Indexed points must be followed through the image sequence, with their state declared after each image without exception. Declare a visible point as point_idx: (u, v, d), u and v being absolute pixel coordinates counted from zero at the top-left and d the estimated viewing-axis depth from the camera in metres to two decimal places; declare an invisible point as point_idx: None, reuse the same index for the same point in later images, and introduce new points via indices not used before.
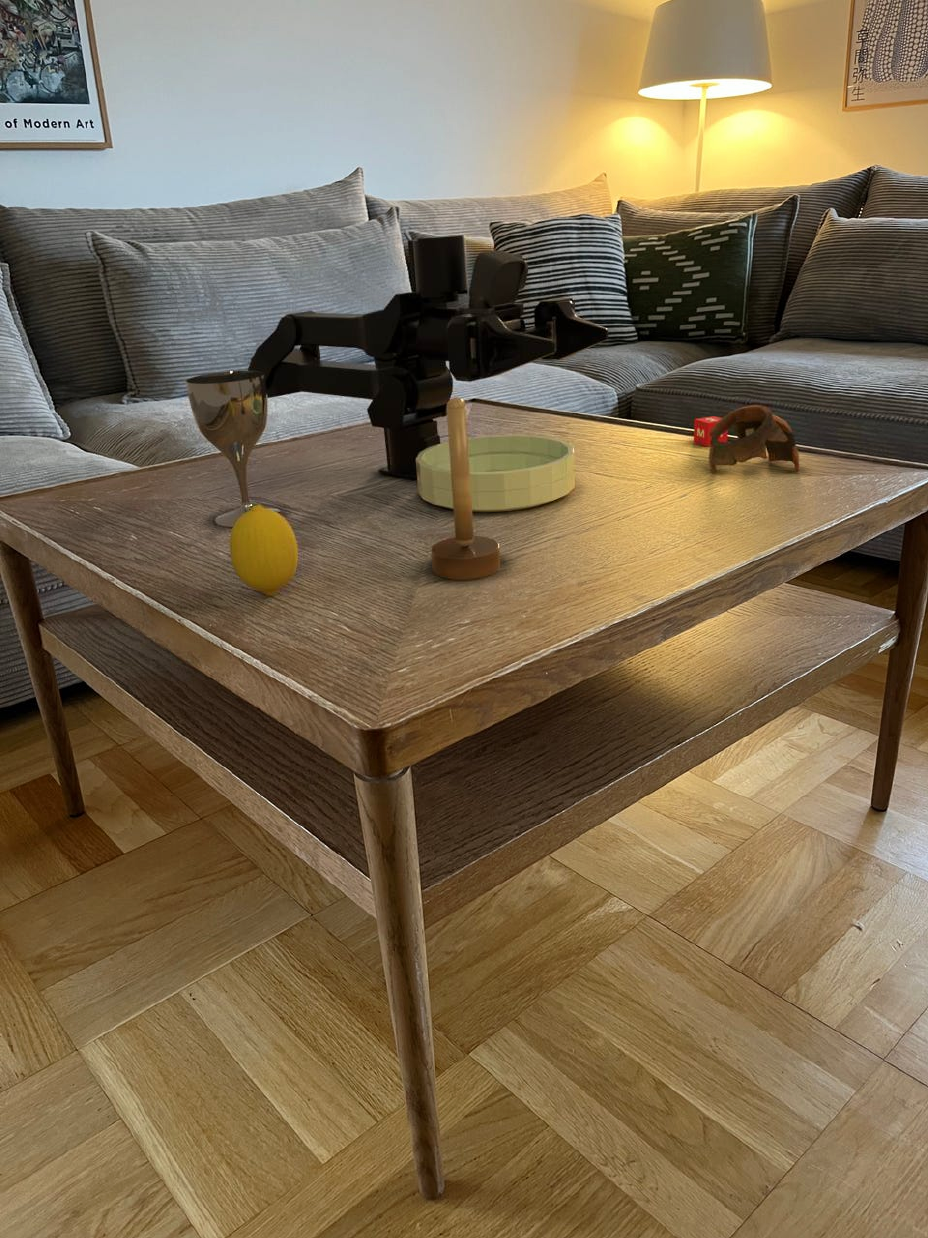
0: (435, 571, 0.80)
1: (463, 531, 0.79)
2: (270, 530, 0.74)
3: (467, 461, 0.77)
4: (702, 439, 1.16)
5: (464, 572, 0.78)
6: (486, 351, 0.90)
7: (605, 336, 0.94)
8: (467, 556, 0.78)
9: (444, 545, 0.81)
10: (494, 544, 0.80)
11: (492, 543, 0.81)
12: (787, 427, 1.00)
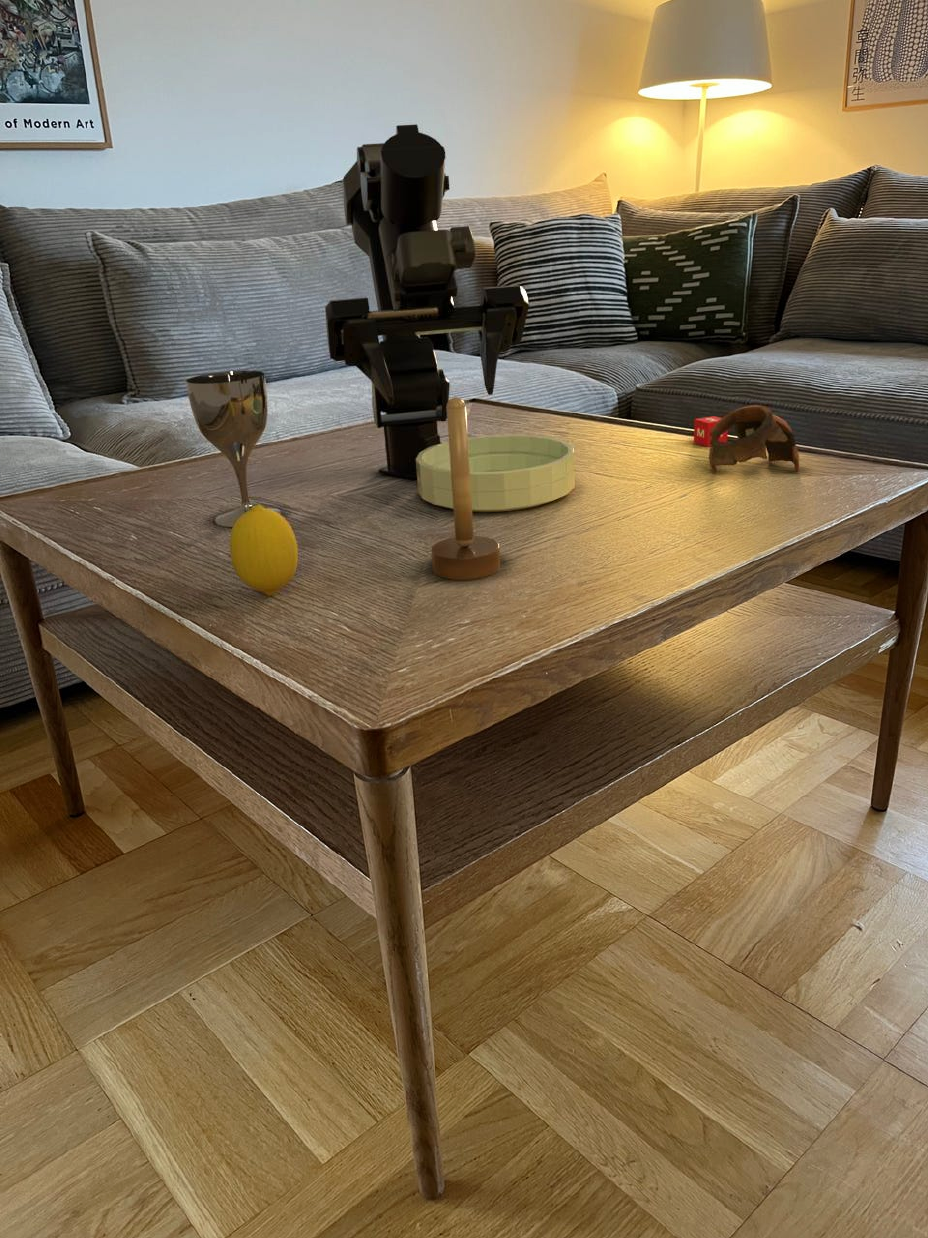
0: (435, 571, 0.80)
1: (463, 531, 0.79)
2: (270, 530, 0.74)
3: (467, 461, 0.77)
4: (702, 439, 1.16)
5: (464, 572, 0.78)
6: (354, 348, 0.84)
7: (488, 392, 0.84)
8: (467, 556, 0.78)
9: (444, 545, 0.81)
10: (494, 544, 0.80)
11: (492, 543, 0.81)
12: (787, 427, 1.00)
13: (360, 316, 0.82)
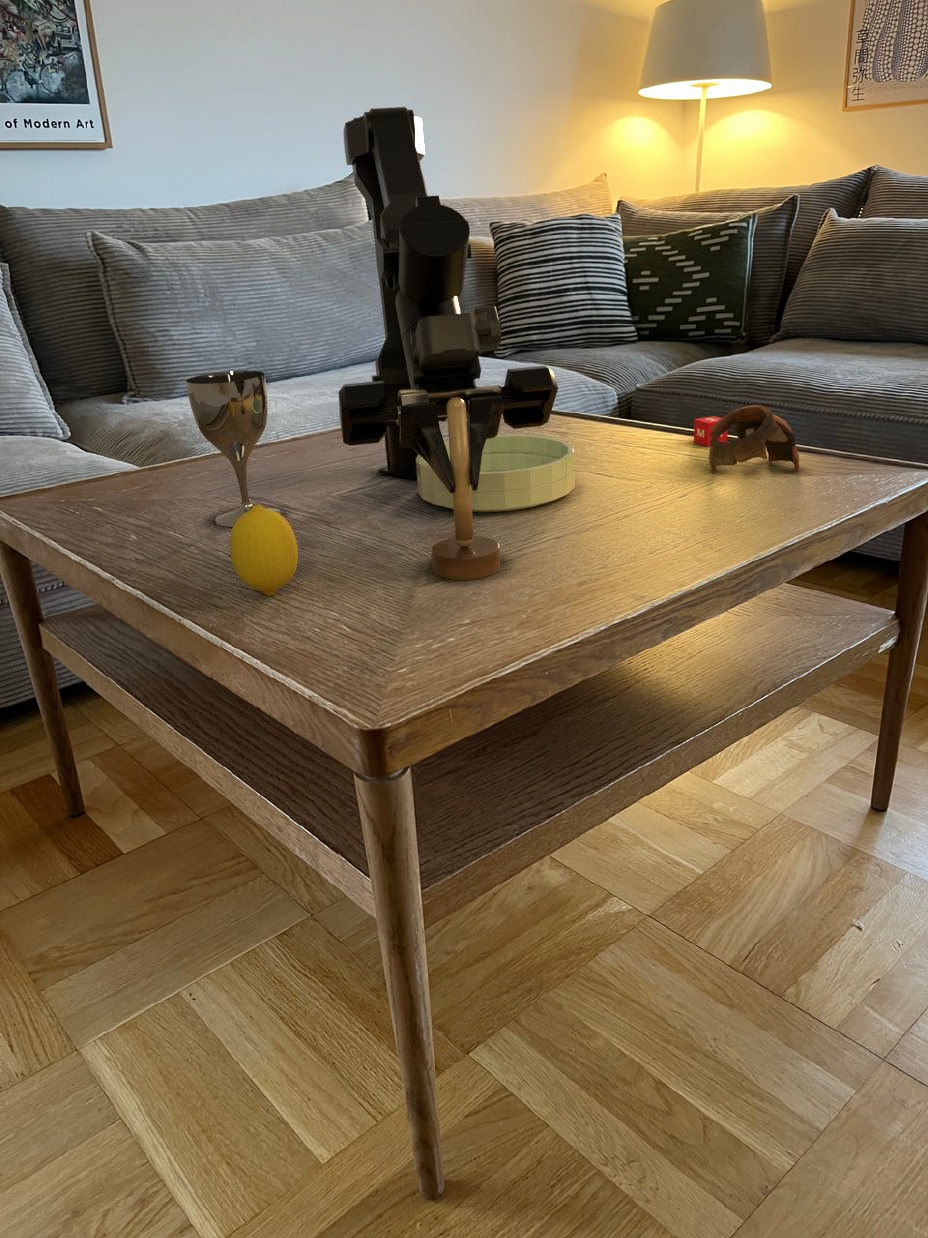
0: (435, 571, 0.80)
1: (463, 531, 0.79)
2: (270, 530, 0.74)
3: (467, 461, 0.77)
4: (702, 439, 1.16)
5: (464, 572, 0.78)
6: (411, 431, 0.79)
7: (472, 488, 0.77)
8: (467, 556, 0.78)
9: (444, 545, 0.81)
10: (494, 544, 0.80)
11: (492, 543, 0.81)
12: (787, 427, 1.00)
13: (376, 403, 0.76)
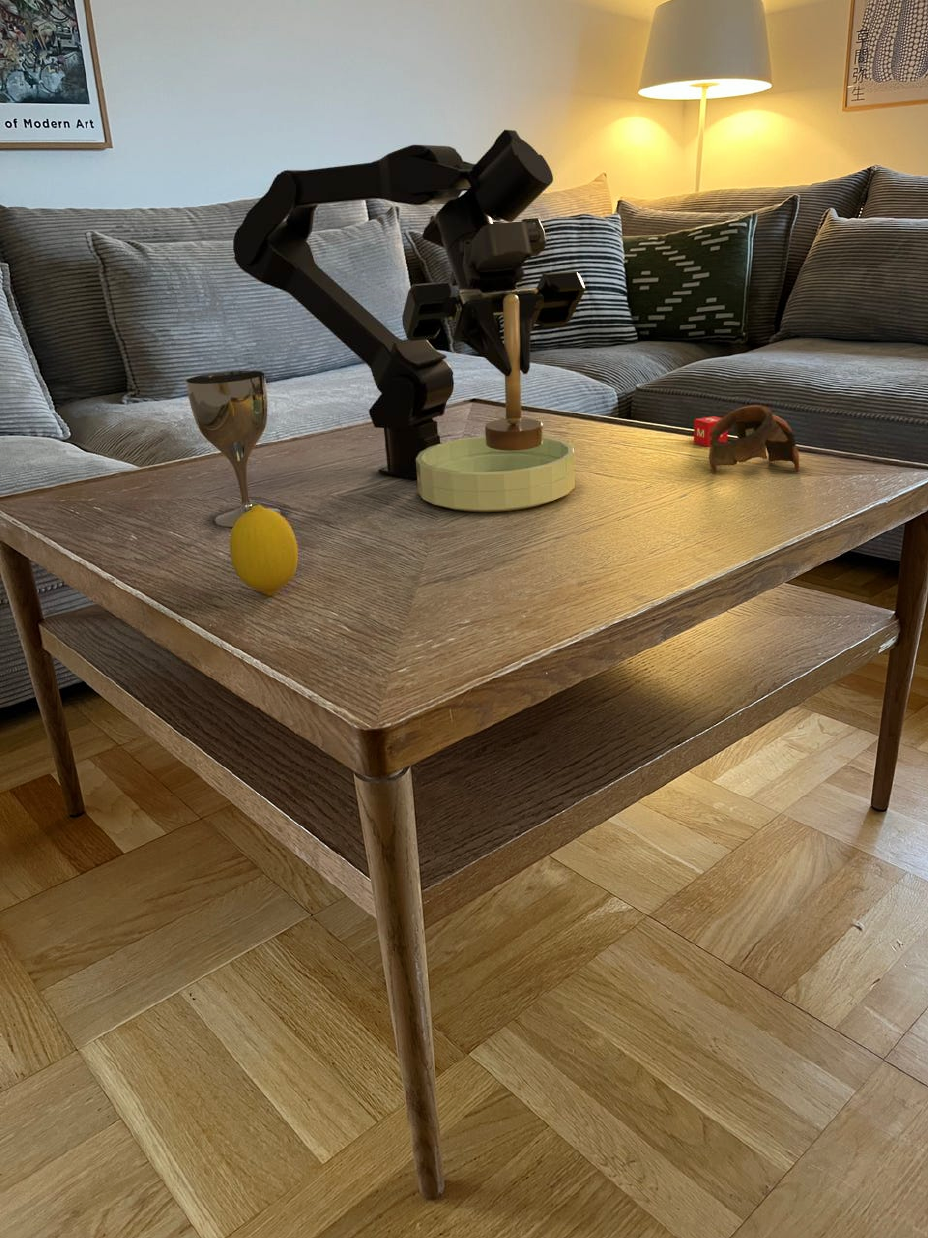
0: (491, 445, 0.95)
1: (514, 410, 0.94)
2: (270, 530, 0.74)
3: (519, 349, 0.92)
4: (702, 439, 1.16)
5: (519, 443, 0.94)
6: (467, 325, 0.93)
7: (524, 372, 0.93)
8: (520, 429, 0.94)
9: (495, 424, 0.96)
10: (537, 421, 0.96)
11: (535, 421, 0.96)
12: (787, 427, 1.00)
13: (444, 299, 0.90)
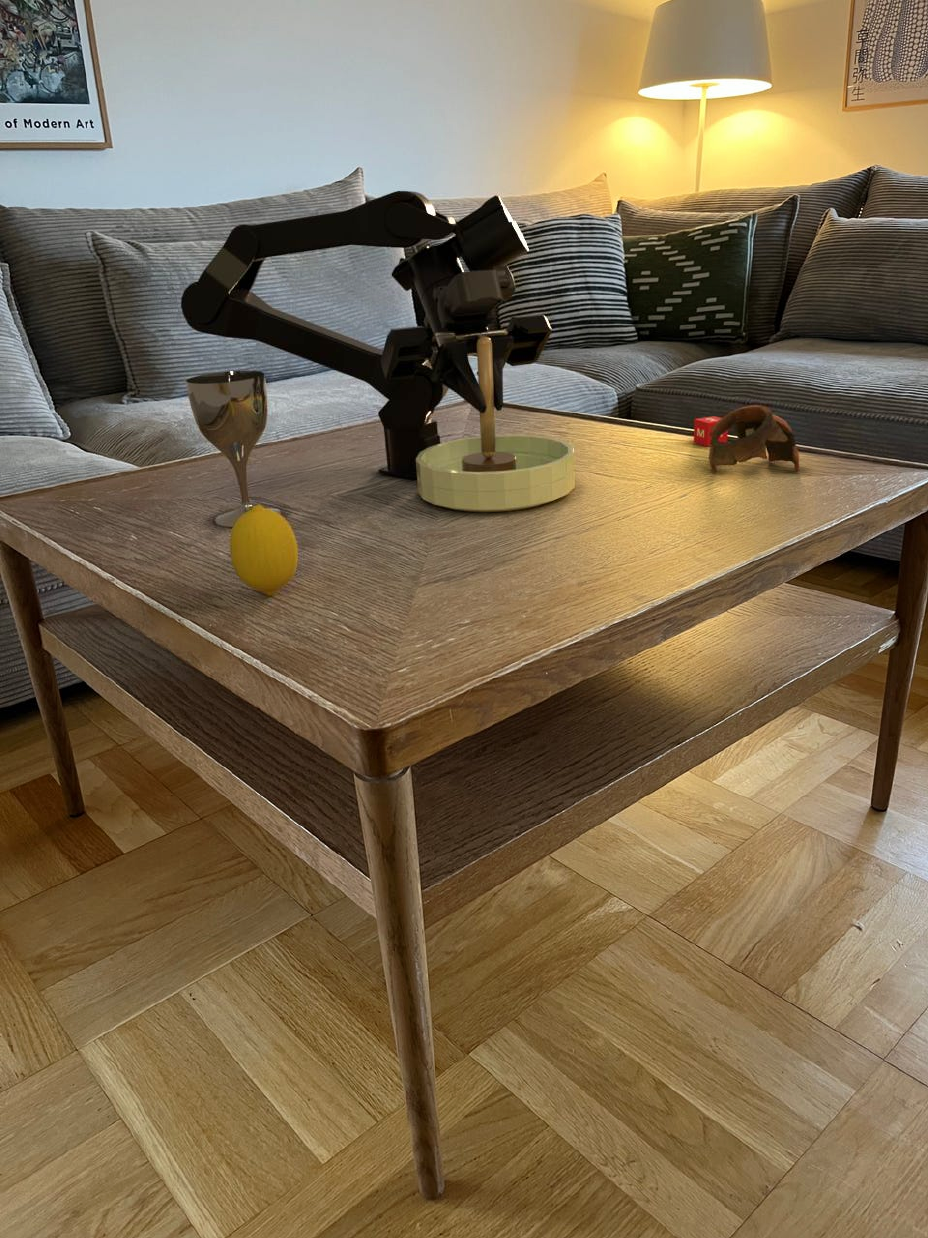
0: None
1: (489, 444, 1.00)
2: (270, 530, 0.74)
3: None
4: (702, 439, 1.16)
5: None
6: (442, 366, 0.99)
7: (498, 408, 0.98)
8: (496, 462, 0.99)
9: (471, 458, 1.02)
10: (510, 454, 1.02)
11: (508, 454, 1.02)
12: (787, 427, 1.00)
13: (421, 342, 0.95)
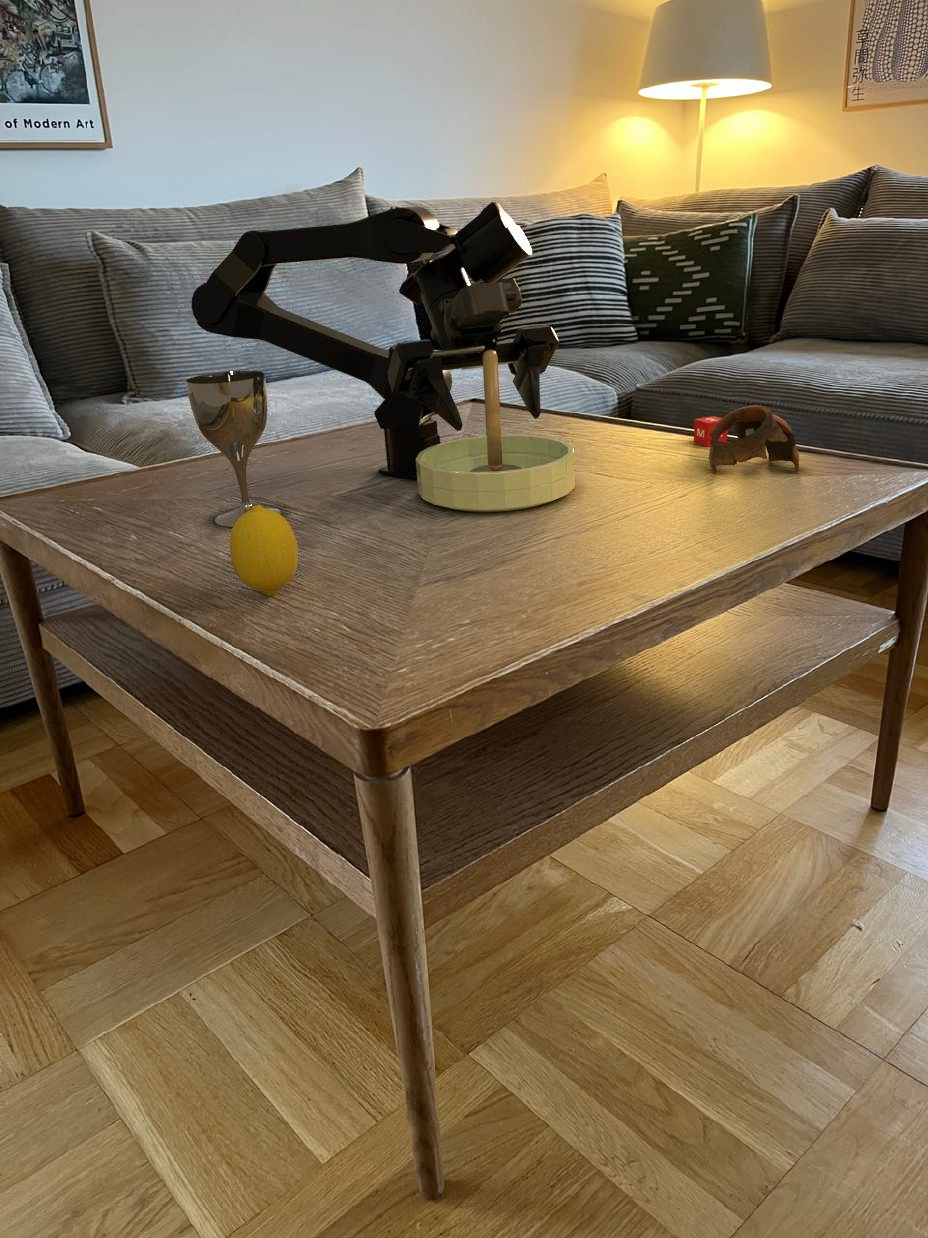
0: None
1: (496, 457, 1.00)
2: (270, 530, 0.74)
3: (499, 400, 0.98)
4: (702, 439, 1.16)
5: None
6: (418, 383, 0.97)
7: (535, 416, 0.99)
8: None
9: (478, 471, 1.01)
10: (517, 467, 1.02)
11: (515, 467, 1.02)
12: (787, 427, 1.00)
13: (428, 356, 0.95)
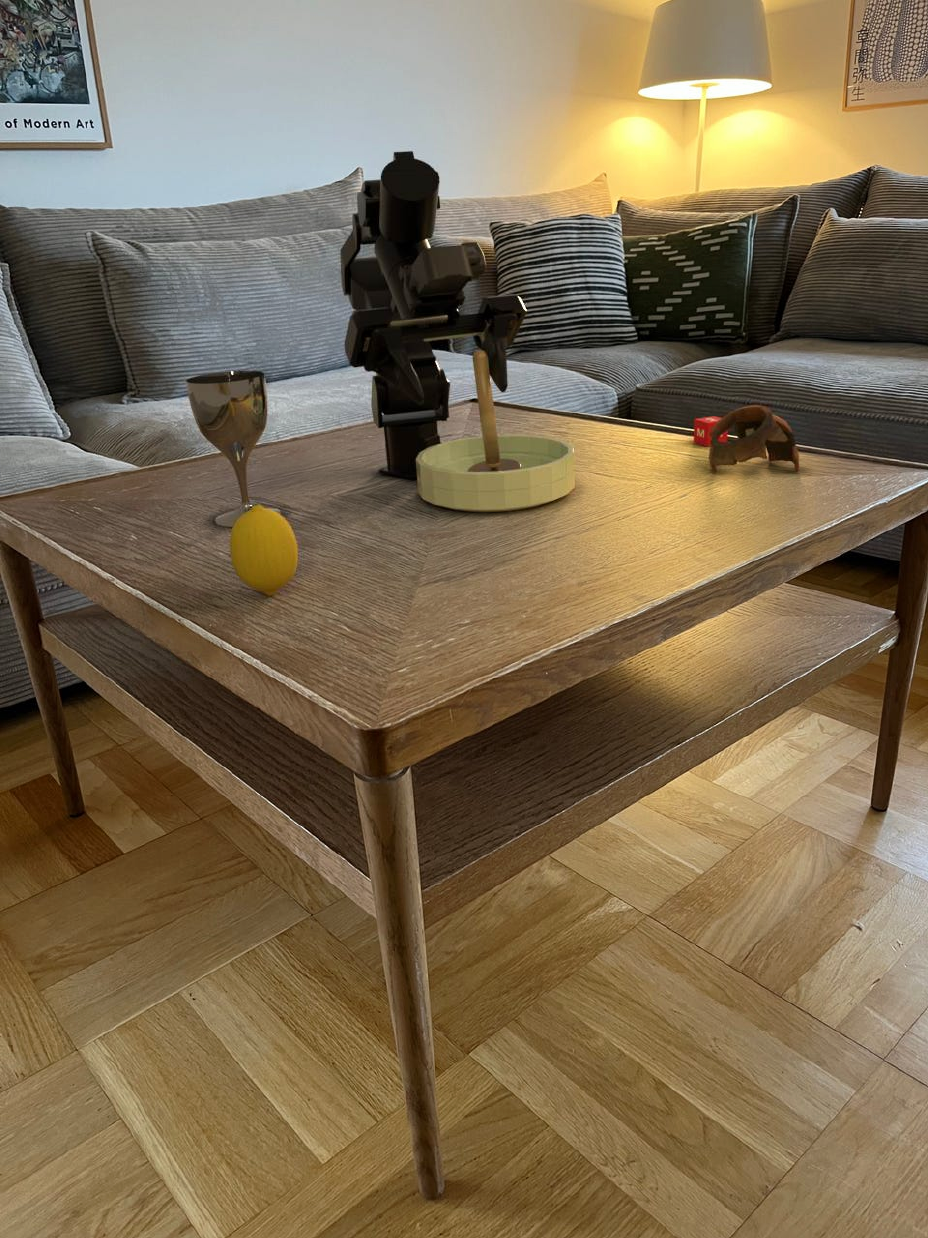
0: None
1: (493, 456, 0.99)
2: (270, 530, 0.74)
3: (492, 399, 0.97)
4: (702, 439, 1.16)
5: None
6: (376, 354, 0.91)
7: (502, 390, 0.93)
8: None
9: (476, 469, 1.01)
10: (515, 462, 1.01)
11: (514, 462, 1.01)
12: (787, 427, 1.00)
13: (386, 324, 0.89)
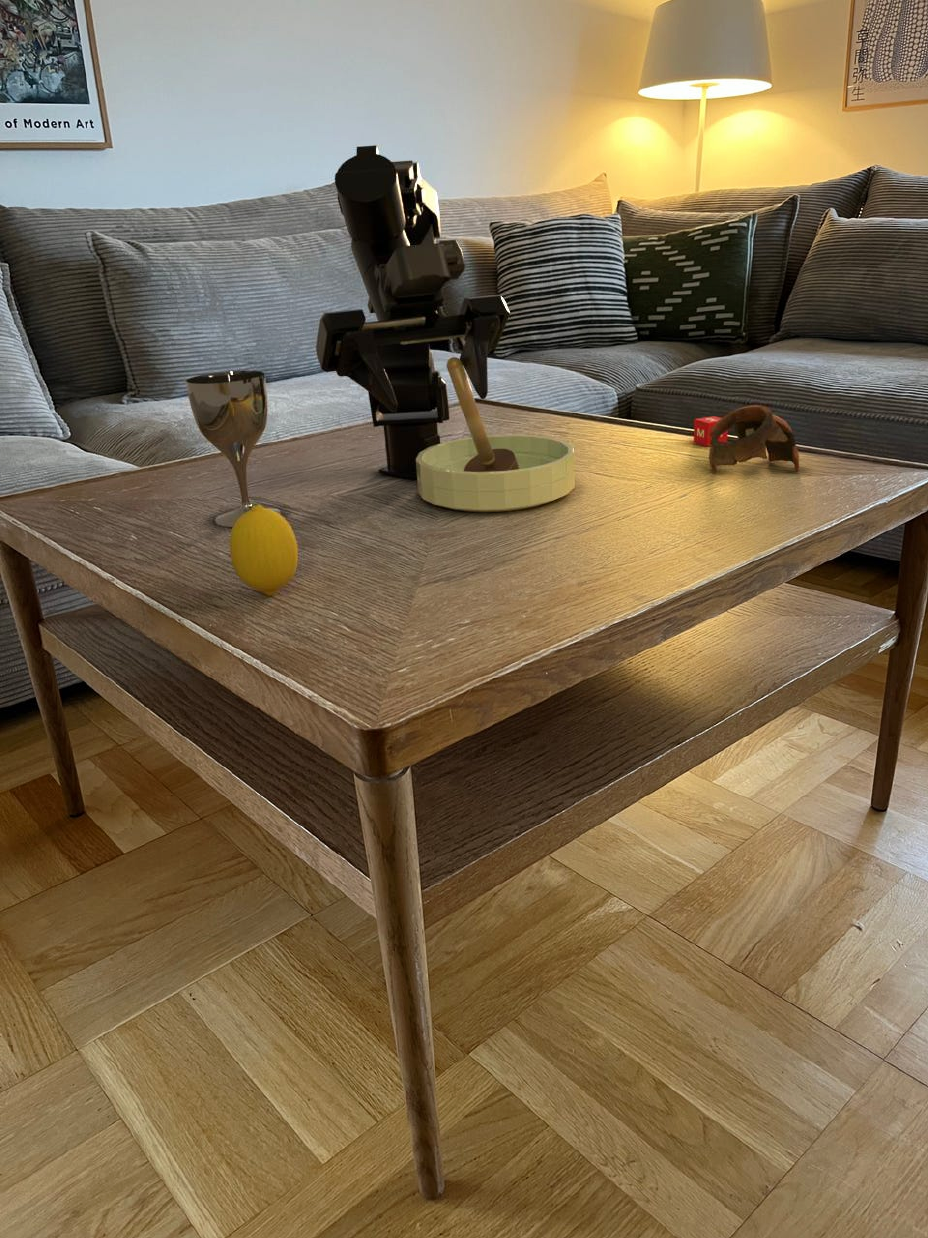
0: None
1: (486, 454, 0.98)
2: (270, 530, 0.74)
3: (474, 402, 0.95)
4: (702, 439, 1.16)
5: None
6: (349, 359, 0.86)
7: (482, 396, 0.88)
8: None
9: (472, 468, 1.00)
10: (510, 453, 1.00)
11: (508, 453, 1.00)
12: (787, 427, 1.00)
13: (358, 327, 0.84)
